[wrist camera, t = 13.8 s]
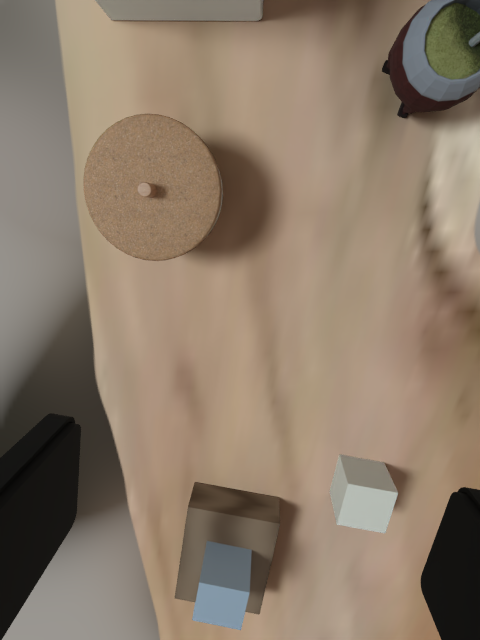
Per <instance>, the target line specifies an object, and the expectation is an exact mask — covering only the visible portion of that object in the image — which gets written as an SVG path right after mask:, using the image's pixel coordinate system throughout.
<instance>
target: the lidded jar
mask: <svg viewBox="0 0 480 640" xmlns="http://www.w3.org/2000/svg"><path fill="white" fill-rule="evenodd" d="M84 194H85V200H86V204H87V207H88V210H89V213H90V215H91V217H92V220H93V222H94V223H95V225H96V226H97V228H98V229H99V231H100V232H101V234H102V235H103V236H104V237H105V238H106V239H107V240H108V241H109V242H110V243H111V244H113V245H114V246H115V247H116V248H118V249H119V250H121V251H123V252H124V253H126V254H128V255H131V256H133V257H136V258H140V259H144V260H152V261H160V260H168V259H172V258H176V257H179V256H181V255H183V254H186V253H187V252H189V251H191V250H192V249H194V248H195V247H196V246H198V245H199V244H200V243H201V242H202V241H203V240H204V239H205V238H206V237H207V235H208V234H209V233H210V232H211V230H212V229H213V227H214V225H215V224H216V222H217V219H218V217H219V214H220V211H221V206H222V198H223V188H222V180H221V176H220V172H219V169H218V167H217V164H216V162H215V159H214V157H213V155H212V153H211V152H210V150H209V148H208V147H207V146H206V144H205V143H204V142H203V141H202V139H201V138H200V137H199V136H198V135H197V134H196V133H195V132H194V131H192V130H191V129H190V128H189V127H187V126H186V125H184V124H183V123H181V122H179V121H177V120H174V119H172V118H170V117H166V116H162V115H157V114H140V115H134V116H131V117H127V118H125V119H123V120H121V121H118V122H116V123H115V124H113V125H112V126H111V127H109V128H108V129H107V130H106V131H105V132H104V133H103V134H102V135H101V136H100V137H99V138H98V140H97V141H96V143H95V144H94V146H93V147H92V150H91V152H90V154H89V156H88V159H87V163H86V166H85V172H84Z"/></svg>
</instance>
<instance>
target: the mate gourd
mask: <svg viewBox="0 0 480 640" xmlns="http://www.w3.org/2000/svg"><path fill="white" fill-rule="evenodd" d="M382 72H384V73H386V74H389V75H390V79H391V82H392V85H393V88H394V91H395V94H396V95H397V96H398V98H399V99H400V100H401V101H402V104H401V106H400V108H399V111H398V114H397V115H398V116H399V117H402V118H405V117H407V115H408V113H409V114H412V113H414V112H430V111H441V110H446V109H449V108H451V107H453V106H455V105H457V104H459V103H461V102H463V101H465V100H467V99H468V98H469V97H471V96H472V95H473V94H474V93H475V92H476V90H477V89H478V88H479V87H480V0H431V1H430V2H428V3H427V4H426V5H424V6H422V7H421V8H420V9H419V10H418V11H417V12H416V13H415V14H414V15H413V16H412V18H411V19H410V20H409V21H408V22H407V23H406V25H405V26H404V27H403V28H402V29H401V31H400V33H399V35H398V37H397V39H396V40H395V42H394V44H393V46H392V48H391V50H390V52H389V55H388V60H386V61H385V63H384V65H383V68H382Z"/></svg>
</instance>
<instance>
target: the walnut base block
mask: <svg viewBox="0 0 480 640" xmlns="http://www.w3.org/2000/svg"><path fill="white" fill-rule="evenodd" d="M279 527H280V507H279V497H274V496H268V495H263V494H257V493H252V492H246V491H241V490H235V489H230V488H224V487H219V486H213V485H208V484H202V483H197V482H195V483H194V487H193V491H192V494H191V498H190V502H189V505H188V511H187V518H186V524H185V531H184V538H183V545H182V552H181V558H180V565H179V572H178V579H177V586H176V593H175V598H176V599H181V600H186V601H191V602H196V597H197V591H198V586H199V581H200V575H201V570H202V565H203V559H204V554H205V549H206V543H207V541H210V542H215V543H220V544H225V545H230V546H235V547H240V548H245V549H250V550H252V553H251V574H250V593H249V597H248V602H247V606H246V610H245V612H249V613H254V614H260V610H261V605H262V601H263V597H264V592H265V588H266V584H267V579H268V575H269V570H270V566H271V562H272V557H273V553H274V549H275V544H276V540H277V536H278V531H279Z"/></svg>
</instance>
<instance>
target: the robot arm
mask: <svg viewBox="0 0 480 640" xmlns="http://www.w3.org/2000/svg"><path fill="white" fill-rule="evenodd" d="M80 436H81V427H80V425H79V424H75V420H74V418H73V417H69V416H63V415H58V414H48V415H47V416H46V417H44V418H43V419H42V420H41V421H40V422H39V423H38V424H37V425H36V426H35V427H34V428H32V429H31V430H30V431H29V432H28V433H27V434H26V435H25V436H24V437H23V438H22V439H21V440H19V442H17V443H16V444H15V445H14V446H13V447H12V448H11V449H10V450H9V451H7V452H6V453H5V454H4V455H3V456H2V457H1V458H0V640H2V638H3V636H4V635H5V633H6V632H7V630H8V628H9V627H10V625H11V624H12V622H13V620H14V619H15V617H16V616H17V614H18V613H19V611H20V609H21V608H22V606H23V605H24V603H25V601H26V600H27V598H28V596H29V595H30V593H31V592H32V590H33V588H34V587H35V585H36V584H37V582H38V580H39V579H40V577H41V576H42V574H43V572H44V571H45V569H46V568H47V566H48V564H49V563H50V561H51V560H52V558H53V556H54V555H55V553H56V552H57V550H58V548H59V546H60V545H61V544H62V542H63V540H64V539H65V537H66V536H67V534H68V532H69V531H70V529H71V527H72V525H73V523H74V520H75V517H76V513H77V496H78V495H77V494H78V476H79V455H80ZM421 588H422V592H423V595H424V598H425V600H426V603H427V605H428V608H429V610H430V613H431V615H432V617H433V620H434V622H435V625H436V627H437V630H438V632H439V635H440V637H441V640H480V490H477V489H471V488H466V487H463V488H460V489H459V490H458V492H454V493H452V495H451V496H450V499H449V502H448V504H447V507H446V510H445V513H444V515H443V518H442V521H441V523H440V526H439V529H438V532H437V534H436V537H435V540H434V543H433V545H432V548H431V551H430V553H429V556H428V559H427V562H426V564H425V567H424V570H423V572H422V576H421Z"/></svg>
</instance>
